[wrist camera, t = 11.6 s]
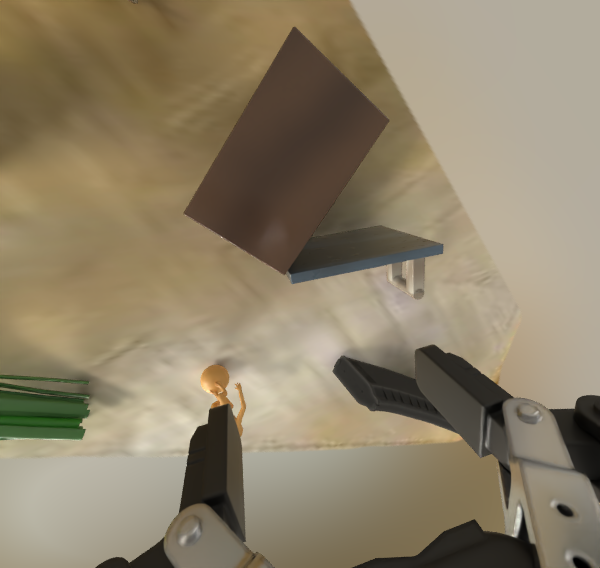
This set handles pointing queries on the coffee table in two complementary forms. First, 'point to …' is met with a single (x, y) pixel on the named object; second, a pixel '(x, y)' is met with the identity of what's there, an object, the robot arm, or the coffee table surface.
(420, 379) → the robot arm
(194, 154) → the coffee table surface
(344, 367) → the magazine
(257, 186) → the cupboard
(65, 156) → the coffee table surface
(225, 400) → the figurine
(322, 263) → the cupboard door
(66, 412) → the daffodil flowers
